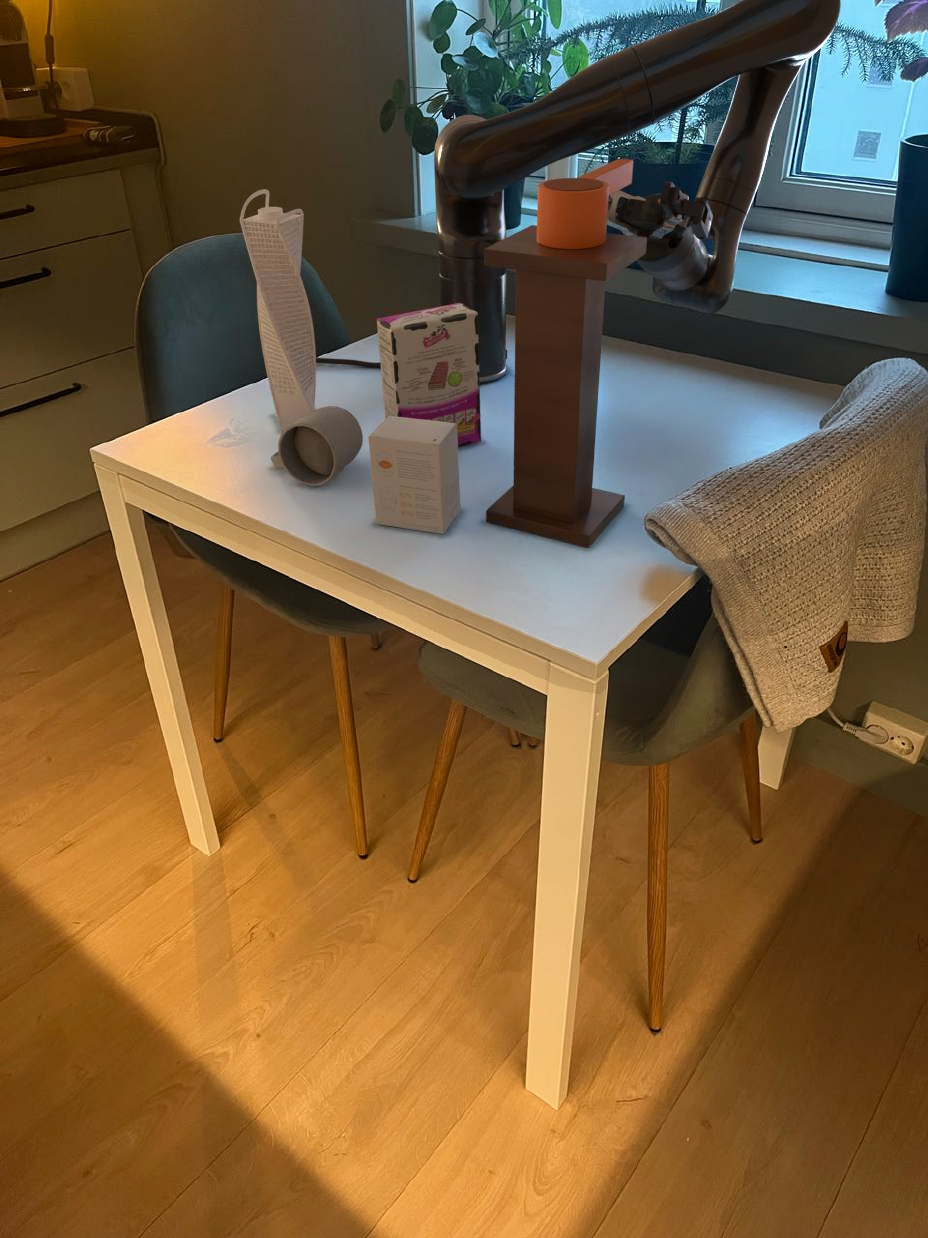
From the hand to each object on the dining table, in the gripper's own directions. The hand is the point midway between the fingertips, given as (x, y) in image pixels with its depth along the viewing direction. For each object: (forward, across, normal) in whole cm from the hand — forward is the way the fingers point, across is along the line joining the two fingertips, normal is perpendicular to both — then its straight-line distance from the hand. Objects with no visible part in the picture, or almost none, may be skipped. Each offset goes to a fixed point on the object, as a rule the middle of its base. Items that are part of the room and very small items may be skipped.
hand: (625, 187), depth 97 cm
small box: (+3, -13, +38) cm, 40 cm away
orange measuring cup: (+6, 0, +6) cm, 9 cm away
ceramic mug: (0, -30, +36) cm, 46 cm away
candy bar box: (-11, -21, +29) cm, 38 cm away
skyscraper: (-10, -41, +30) cm, 52 cm away
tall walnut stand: (-3, 0, +34) cm, 34 cm away
